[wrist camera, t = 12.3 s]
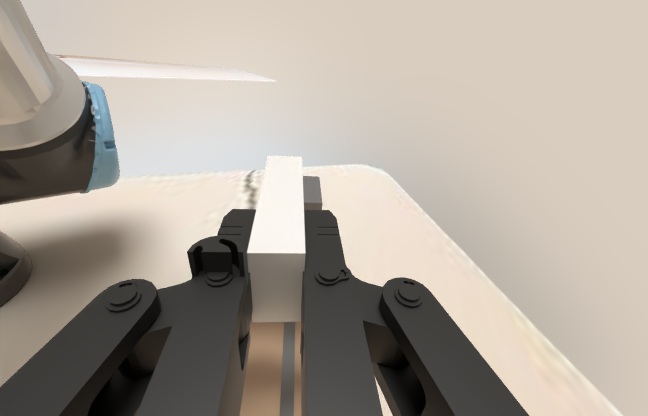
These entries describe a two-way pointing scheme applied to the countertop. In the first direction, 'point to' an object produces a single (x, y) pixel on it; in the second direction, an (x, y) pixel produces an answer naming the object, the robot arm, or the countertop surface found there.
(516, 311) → the countertop surface
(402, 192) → the countertop surface
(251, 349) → the rail board
